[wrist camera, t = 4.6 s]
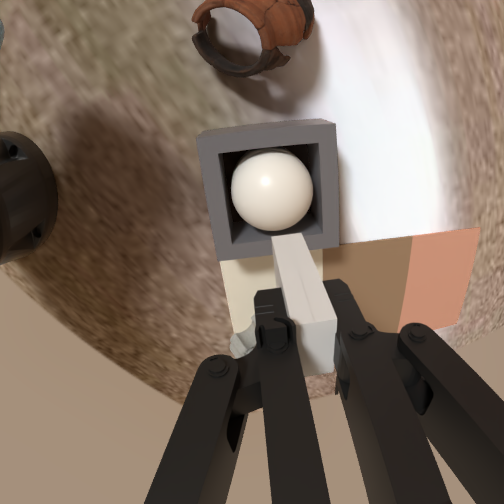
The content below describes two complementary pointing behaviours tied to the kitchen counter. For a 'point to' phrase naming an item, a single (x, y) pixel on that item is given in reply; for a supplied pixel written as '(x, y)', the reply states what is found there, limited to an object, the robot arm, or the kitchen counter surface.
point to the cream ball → (271, 188)
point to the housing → (262, 136)
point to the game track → (375, 278)
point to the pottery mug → (269, 28)
